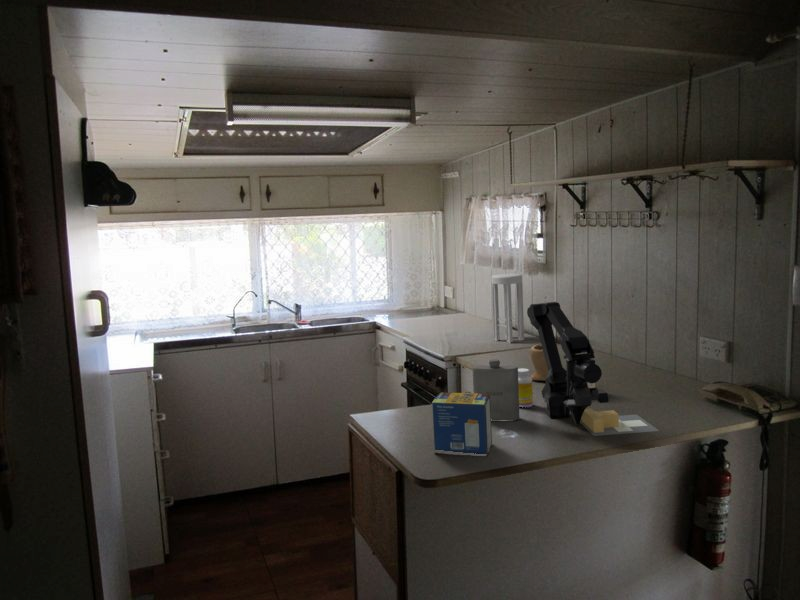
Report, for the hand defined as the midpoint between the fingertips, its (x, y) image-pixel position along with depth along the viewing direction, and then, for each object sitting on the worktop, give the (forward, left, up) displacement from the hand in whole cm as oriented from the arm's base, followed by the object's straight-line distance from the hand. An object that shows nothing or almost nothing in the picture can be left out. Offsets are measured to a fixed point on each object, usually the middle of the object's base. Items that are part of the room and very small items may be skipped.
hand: (577, 424), depth 196 cm
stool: (+11, +141, -2) cm, 141 cm away
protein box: (-37, -10, -2) cm, 38 cm away
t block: (+8, 0, -1) cm, 8 cm away
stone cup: (+8, +57, -2) cm, 58 cm away
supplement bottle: (-10, +27, -2) cm, 29 cm away
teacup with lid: (+14, +35, -2) cm, 38 cm away
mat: (+12, 0, -1) cm, 12 cm away
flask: (-22, +15, -2) cm, 27 cm away
